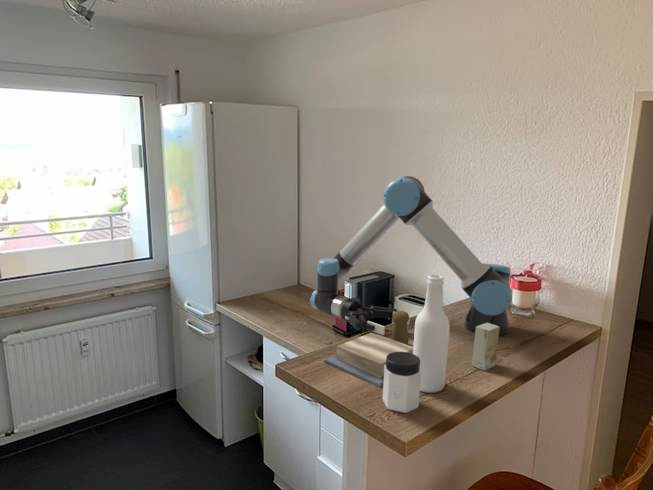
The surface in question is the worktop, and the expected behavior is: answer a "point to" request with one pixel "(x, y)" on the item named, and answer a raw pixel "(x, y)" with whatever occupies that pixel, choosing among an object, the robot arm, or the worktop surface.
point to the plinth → (366, 356)
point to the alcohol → (432, 338)
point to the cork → (400, 327)
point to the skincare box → (485, 346)
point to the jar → (401, 381)
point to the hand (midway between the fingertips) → (397, 325)
